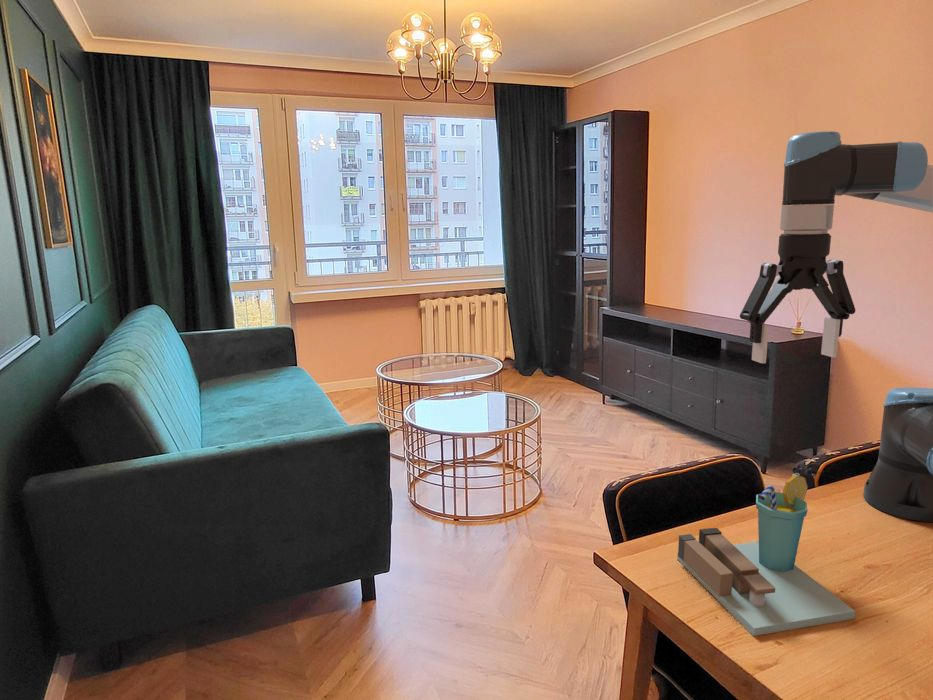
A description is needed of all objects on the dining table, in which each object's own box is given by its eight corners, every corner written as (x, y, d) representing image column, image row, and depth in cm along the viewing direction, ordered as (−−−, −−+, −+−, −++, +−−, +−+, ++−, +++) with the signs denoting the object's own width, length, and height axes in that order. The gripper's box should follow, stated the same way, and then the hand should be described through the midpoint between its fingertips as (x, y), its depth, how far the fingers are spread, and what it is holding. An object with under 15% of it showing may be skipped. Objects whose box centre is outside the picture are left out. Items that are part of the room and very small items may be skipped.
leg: (774, 607, 89) (776, 583, 89) (754, 609, 89) (756, 585, 88) (715, 548, 105) (716, 527, 104) (698, 550, 105) (699, 529, 104)
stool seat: (762, 547, 108) (764, 520, 107) (854, 618, 89) (858, 587, 88) (674, 559, 105) (676, 532, 104) (750, 636, 86) (753, 604, 85)
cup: (780, 593, 93) (789, 500, 90) (729, 572, 99) (735, 483, 96) (816, 557, 102) (824, 471, 99) (767, 540, 108) (774, 458, 105)
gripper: (852, 229, 109) (840, 348, 113) (722, 234, 104) (715, 359, 108) (889, 230, 101) (874, 358, 106) (751, 235, 97) (742, 369, 101)
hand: (794, 358), depth 107 cm, fingers open, 13 cm apart
